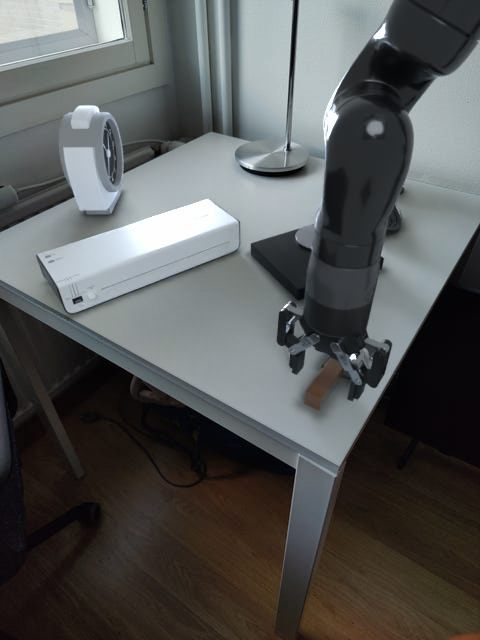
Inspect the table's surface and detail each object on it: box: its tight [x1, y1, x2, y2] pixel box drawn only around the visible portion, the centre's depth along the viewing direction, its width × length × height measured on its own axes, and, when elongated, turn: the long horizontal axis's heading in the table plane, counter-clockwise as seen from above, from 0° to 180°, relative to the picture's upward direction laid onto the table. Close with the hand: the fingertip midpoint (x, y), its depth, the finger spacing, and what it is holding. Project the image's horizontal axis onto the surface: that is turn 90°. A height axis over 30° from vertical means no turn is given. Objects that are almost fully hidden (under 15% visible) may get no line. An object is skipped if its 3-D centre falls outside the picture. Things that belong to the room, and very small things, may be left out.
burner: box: [296, 224, 315, 250], centre depth 86 cm, size 9×9×1 cm
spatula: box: [303, 355, 366, 412], centre depth 63 cm, size 12×4×3 cm, turn 145°
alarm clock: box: [58, 105, 125, 215], centre depth 97 cm, size 18×8×20 cm, turn 179°
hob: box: [250, 223, 385, 302], centre depth 84 cm, size 18×17×3 cm
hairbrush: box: [386, 186, 405, 235], centre depth 97 cm, size 8×4×25 cm
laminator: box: [35, 198, 241, 315], centre depth 82 cm, size 34×12×6 cm, turn 124°
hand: (324, 382), depth 61 cm, fingers open, 7 cm apart
